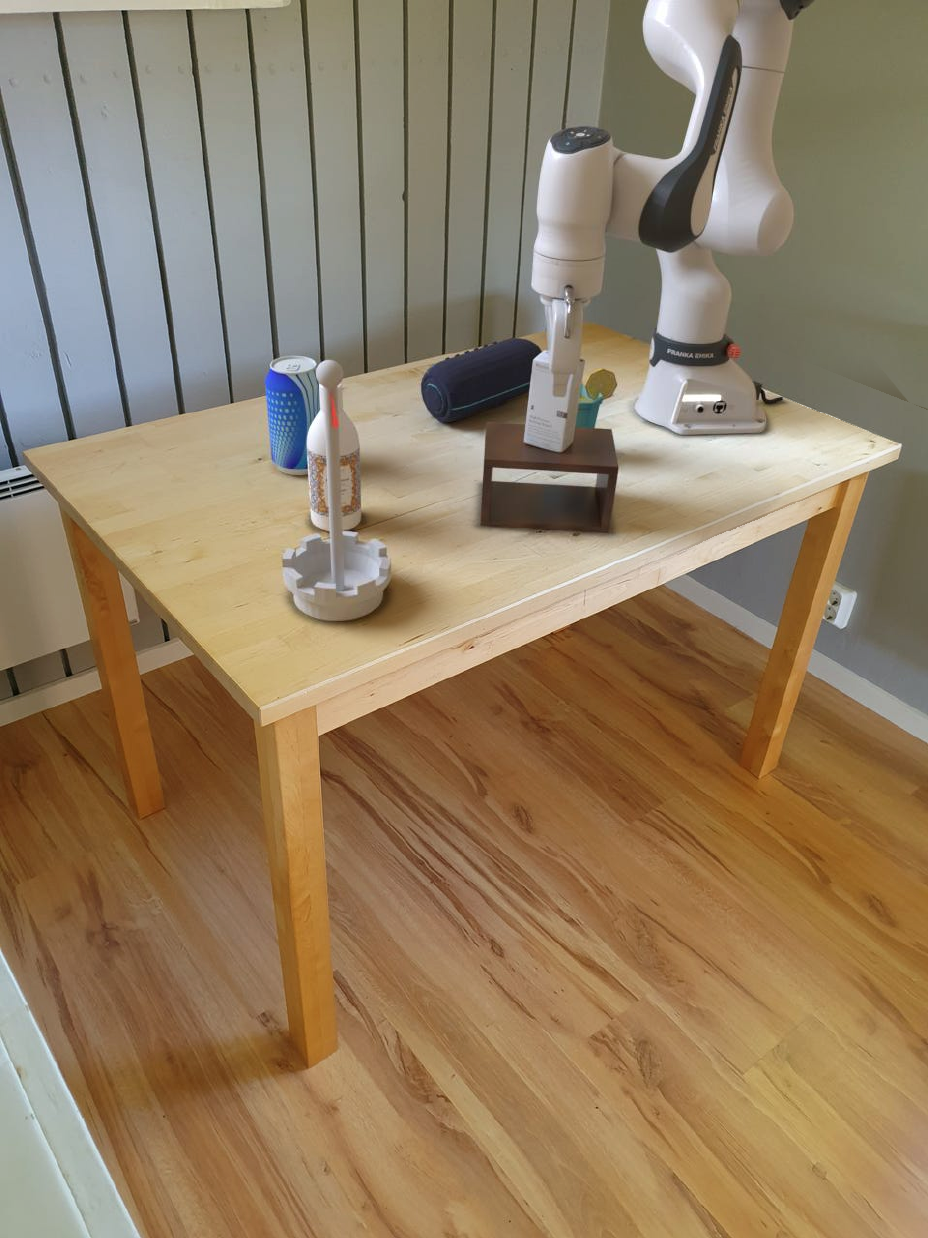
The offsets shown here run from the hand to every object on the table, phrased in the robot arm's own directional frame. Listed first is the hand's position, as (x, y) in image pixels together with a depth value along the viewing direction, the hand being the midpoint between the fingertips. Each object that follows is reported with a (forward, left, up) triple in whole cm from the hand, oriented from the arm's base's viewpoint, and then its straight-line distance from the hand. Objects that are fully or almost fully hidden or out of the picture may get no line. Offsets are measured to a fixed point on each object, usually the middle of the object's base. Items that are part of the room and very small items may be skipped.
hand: (557, 380), depth 128 cm
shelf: (0, 0, -19) cm, 19 cm away
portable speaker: (+10, -35, -20) cm, 41 cm away
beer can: (+37, -9, -20) cm, 43 cm away
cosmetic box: (0, 0, -9) cm, 9 cm away
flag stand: (+26, +25, -20) cm, 41 cm away
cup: (-4, -17, -20) cm, 26 cm away
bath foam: (+29, +7, -20) cm, 36 cm away
